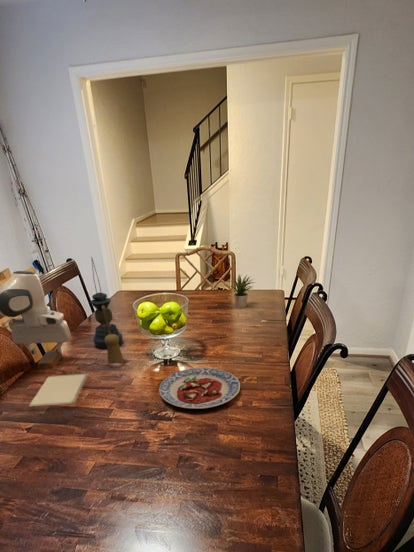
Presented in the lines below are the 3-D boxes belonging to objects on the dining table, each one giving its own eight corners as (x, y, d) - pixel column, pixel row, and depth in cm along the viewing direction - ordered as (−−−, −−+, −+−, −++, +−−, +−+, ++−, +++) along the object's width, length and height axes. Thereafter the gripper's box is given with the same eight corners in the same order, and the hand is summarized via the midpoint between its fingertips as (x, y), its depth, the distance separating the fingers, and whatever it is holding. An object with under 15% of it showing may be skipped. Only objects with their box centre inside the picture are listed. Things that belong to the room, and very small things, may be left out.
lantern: (127, 346, 153) (112, 257, 135) (98, 353, 149) (79, 262, 131) (118, 335, 164) (103, 252, 146) (91, 341, 160) (72, 256, 142)
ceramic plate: (249, 408, 110) (249, 399, 108) (162, 419, 107) (161, 410, 105) (230, 369, 131) (230, 362, 130) (157, 378, 128) (156, 370, 127)
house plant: (246, 313, 183) (246, 279, 174) (222, 309, 189) (221, 276, 181) (258, 305, 193) (260, 272, 184) (235, 301, 199) (235, 270, 191)
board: (29, 409, 115) (28, 406, 114) (49, 378, 132) (48, 375, 131) (75, 406, 115) (74, 403, 114) (89, 376, 132) (88, 373, 131)
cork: (116, 358, 144) (111, 331, 138) (127, 361, 141) (122, 334, 135) (104, 363, 140) (99, 336, 134) (115, 367, 137) (110, 339, 131)
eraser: (40, 372, 137) (37, 363, 135) (50, 358, 147) (47, 350, 145) (53, 371, 137) (51, 362, 135) (62, 357, 147) (60, 349, 145)
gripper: (3, 321, 129) (15, 358, 137) (62, 319, 130) (71, 355, 137) (10, 316, 135) (21, 351, 142) (67, 313, 136) (75, 348, 143)
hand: (46, 353), depth 140 cm, fingers open, 8 cm apart
